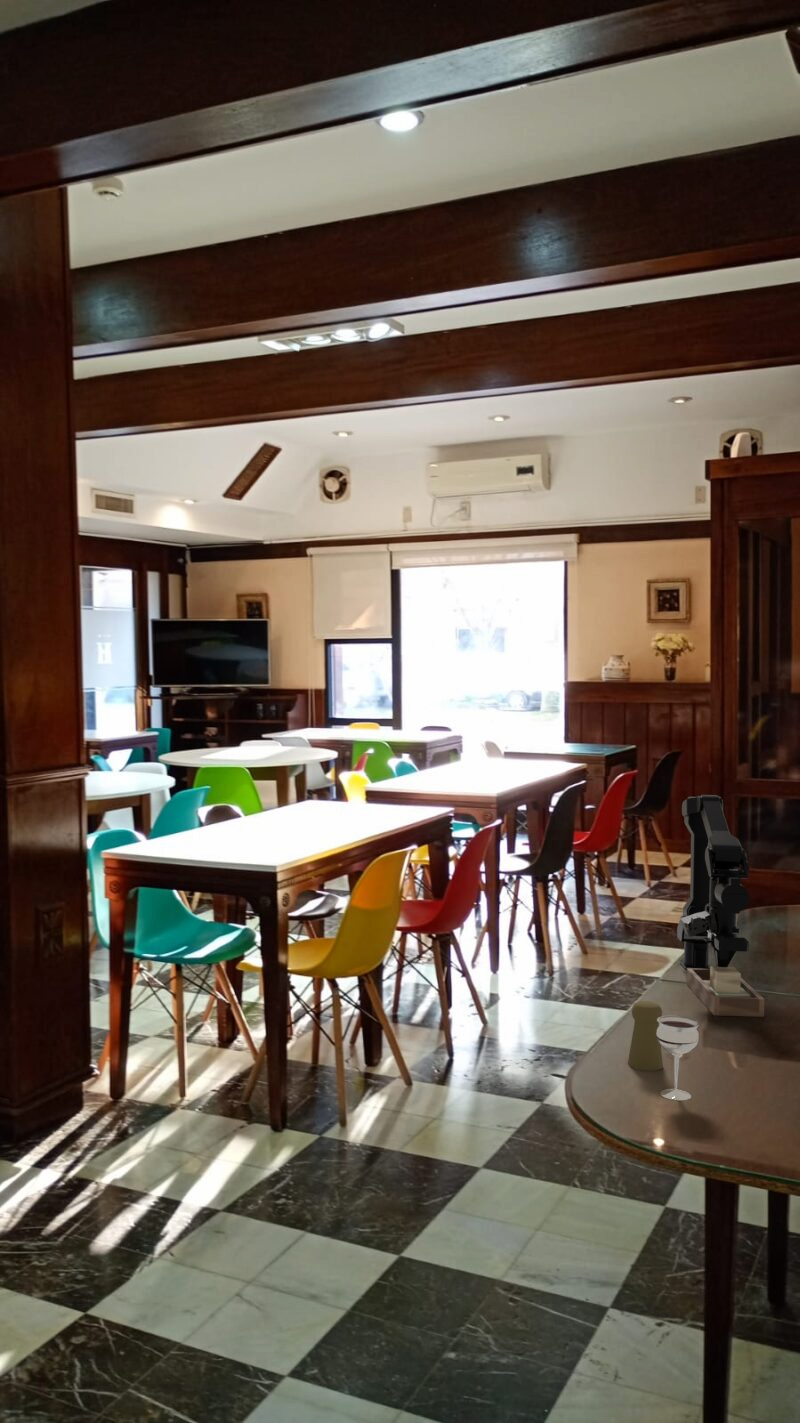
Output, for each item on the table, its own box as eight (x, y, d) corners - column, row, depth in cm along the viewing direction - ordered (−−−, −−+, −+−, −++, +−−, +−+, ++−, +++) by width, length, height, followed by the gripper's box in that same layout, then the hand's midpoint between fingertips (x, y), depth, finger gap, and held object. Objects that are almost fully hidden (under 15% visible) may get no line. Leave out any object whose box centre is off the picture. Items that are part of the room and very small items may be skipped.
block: (709, 985, 245) (710, 966, 245) (733, 986, 245) (734, 967, 245) (715, 992, 240) (716, 973, 240) (740, 992, 240) (740, 973, 240)
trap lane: (686, 983, 255) (686, 968, 255) (731, 984, 255) (732, 969, 255) (714, 1015, 232) (714, 998, 232) (763, 1016, 232) (764, 999, 232)
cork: (660, 1059, 205) (662, 998, 204) (665, 1071, 199) (667, 1008, 198) (626, 1057, 205) (627, 996, 205) (629, 1069, 199) (631, 1006, 199)
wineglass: (695, 1104, 184) (697, 1030, 183) (651, 1098, 186) (654, 1025, 186) (698, 1090, 190) (701, 1018, 190) (656, 1084, 192) (658, 1013, 192)
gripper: (674, 891, 255) (672, 961, 255) (696, 910, 236) (693, 985, 237) (725, 892, 255) (722, 963, 255) (750, 911, 236) (748, 987, 237)
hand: (720, 974), depth 246 cm, fingers closed
